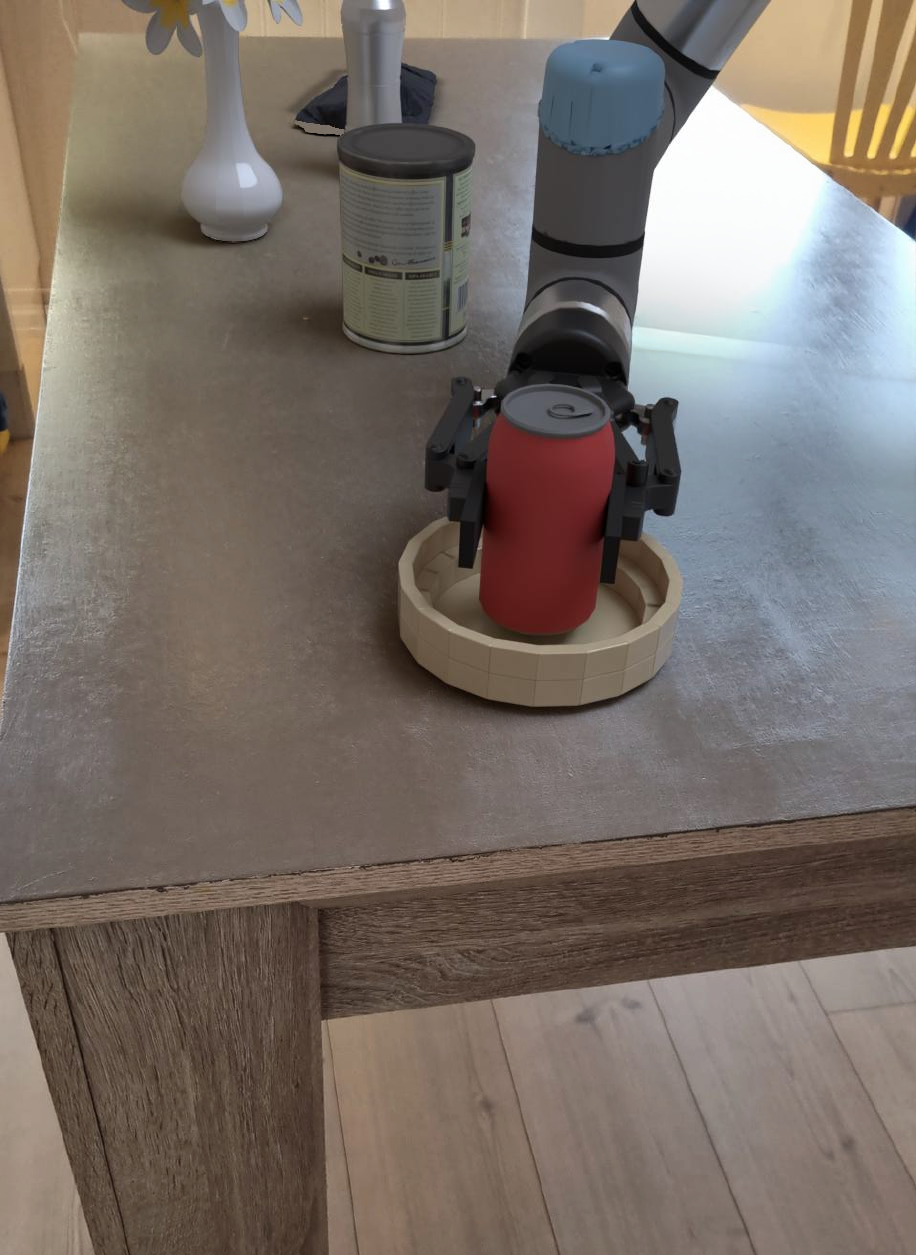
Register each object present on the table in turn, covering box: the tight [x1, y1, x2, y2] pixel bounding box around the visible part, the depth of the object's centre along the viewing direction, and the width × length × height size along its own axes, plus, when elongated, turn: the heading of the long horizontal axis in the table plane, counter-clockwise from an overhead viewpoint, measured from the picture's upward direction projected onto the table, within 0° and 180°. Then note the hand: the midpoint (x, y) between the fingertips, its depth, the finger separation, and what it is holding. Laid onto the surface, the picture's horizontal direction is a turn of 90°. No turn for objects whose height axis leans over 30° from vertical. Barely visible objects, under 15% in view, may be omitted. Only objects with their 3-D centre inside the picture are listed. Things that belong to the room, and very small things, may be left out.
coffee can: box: [336, 123, 476, 355], centre depth 102 cm, size 10×10×14 cm
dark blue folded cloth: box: [294, 61, 438, 130], centre depth 152 cm, size 15×22×5 cm
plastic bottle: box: [339, 0, 407, 133], centre depth 129 cm, size 6×7×20 cm
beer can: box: [479, 384, 615, 636], centre depth 70 cm, size 7×7×12 cm
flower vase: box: [120, 0, 304, 243], centre depth 113 cm, size 13×18×25 cm
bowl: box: [397, 515, 685, 708], centre depth 73 cm, size 16×16×4 cm
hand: (538, 552), depth 65 cm, fingers closed on beer can, 6 cm apart
